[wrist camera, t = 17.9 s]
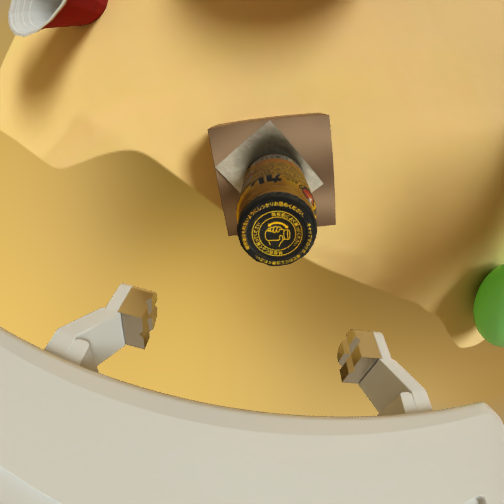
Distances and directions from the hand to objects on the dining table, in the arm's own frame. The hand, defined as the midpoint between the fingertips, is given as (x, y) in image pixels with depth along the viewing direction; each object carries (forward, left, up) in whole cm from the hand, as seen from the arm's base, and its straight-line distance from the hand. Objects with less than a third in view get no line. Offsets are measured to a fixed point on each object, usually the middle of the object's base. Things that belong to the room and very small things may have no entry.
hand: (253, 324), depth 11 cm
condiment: (-1, +1, -20) cm, 20 cm away
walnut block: (-1, +1, -26) cm, 26 cm away
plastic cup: (-20, -28, -26) cm, 43 cm away
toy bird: (+8, +49, -26) cm, 56 cm away
